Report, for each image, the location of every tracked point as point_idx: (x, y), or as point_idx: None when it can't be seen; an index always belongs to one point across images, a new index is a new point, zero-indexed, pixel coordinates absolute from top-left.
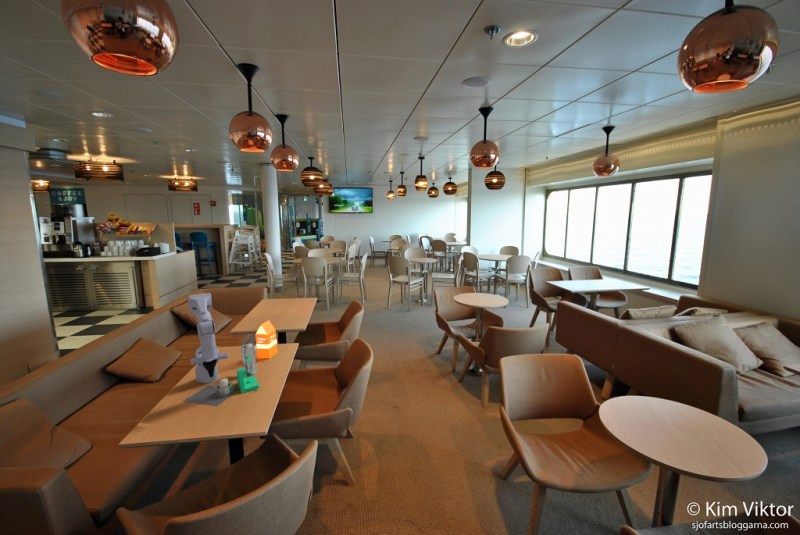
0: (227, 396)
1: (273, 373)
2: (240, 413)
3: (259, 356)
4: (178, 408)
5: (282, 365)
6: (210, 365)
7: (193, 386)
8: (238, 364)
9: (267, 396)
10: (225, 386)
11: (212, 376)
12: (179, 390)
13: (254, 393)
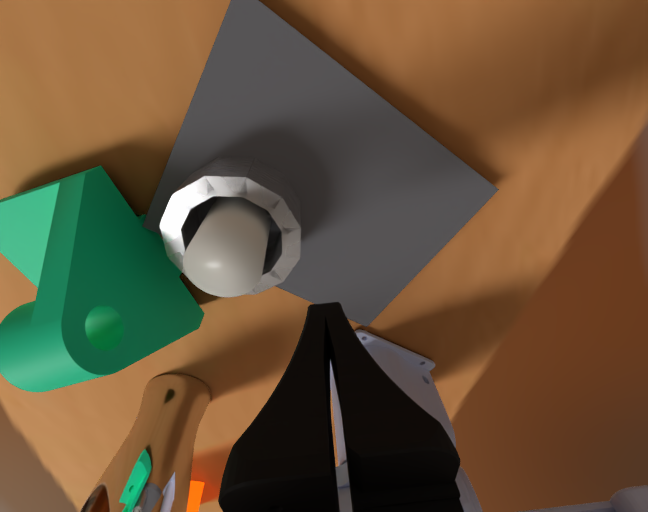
0: (200, 149)
1: None
2: None
3: (192, 490)
4: (518, 119)
5: (33, 424)
6: (322, 430)
7: (439, 343)
8: None
9: None
10: (208, 216)
11: (315, 306)
12: (500, 325)
13: (12, 157)
